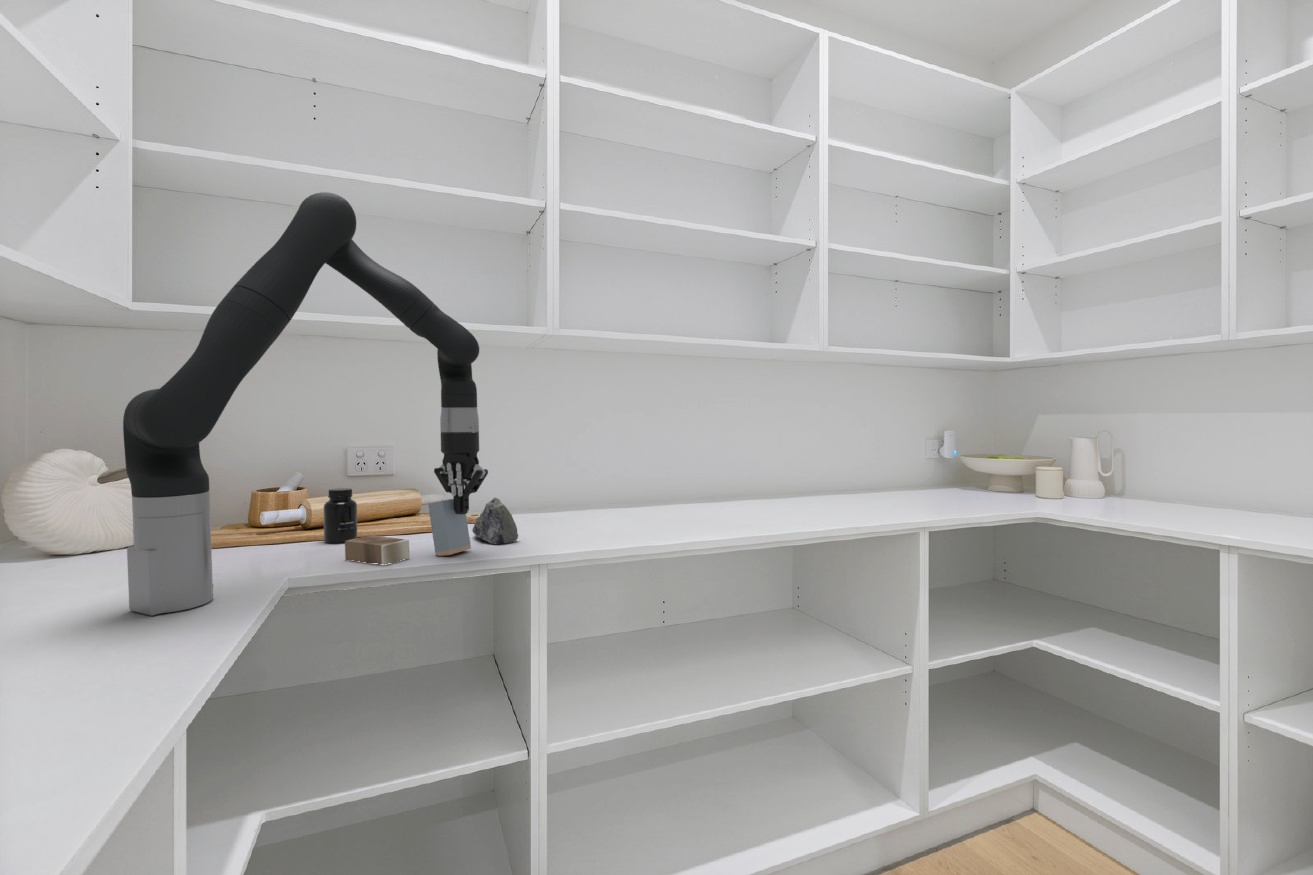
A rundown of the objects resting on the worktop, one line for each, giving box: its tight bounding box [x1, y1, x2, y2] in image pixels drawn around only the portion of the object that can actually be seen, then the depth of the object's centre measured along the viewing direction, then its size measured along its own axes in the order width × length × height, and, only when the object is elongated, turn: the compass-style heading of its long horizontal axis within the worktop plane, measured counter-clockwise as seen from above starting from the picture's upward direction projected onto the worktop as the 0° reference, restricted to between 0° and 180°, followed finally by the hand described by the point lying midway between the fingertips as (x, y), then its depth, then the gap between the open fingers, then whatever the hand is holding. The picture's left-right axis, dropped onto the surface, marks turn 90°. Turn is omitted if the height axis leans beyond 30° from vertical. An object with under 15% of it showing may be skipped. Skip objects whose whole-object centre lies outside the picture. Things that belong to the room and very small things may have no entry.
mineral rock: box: [471, 497, 519, 545], centre depth 138 cm, size 13×11×10 cm
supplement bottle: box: [323, 487, 358, 545], centre depth 137 cm, size 7×7×12 cm
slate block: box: [427, 498, 472, 557], centre depth 124 cm, size 6×4×11 cm, turn 155°
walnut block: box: [344, 534, 410, 565], centre depth 120 cm, size 6×4×11 cm
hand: (461, 513), depth 123 cm, fingers closed
